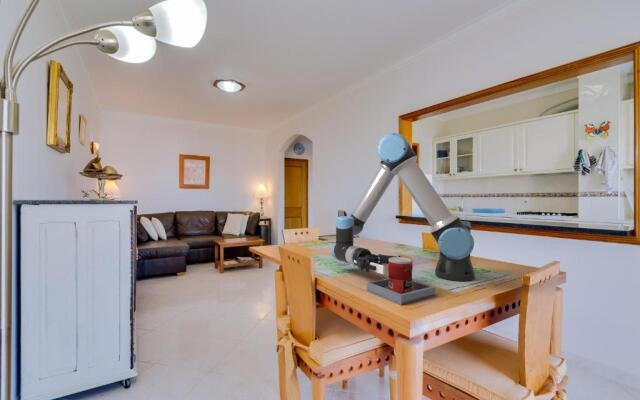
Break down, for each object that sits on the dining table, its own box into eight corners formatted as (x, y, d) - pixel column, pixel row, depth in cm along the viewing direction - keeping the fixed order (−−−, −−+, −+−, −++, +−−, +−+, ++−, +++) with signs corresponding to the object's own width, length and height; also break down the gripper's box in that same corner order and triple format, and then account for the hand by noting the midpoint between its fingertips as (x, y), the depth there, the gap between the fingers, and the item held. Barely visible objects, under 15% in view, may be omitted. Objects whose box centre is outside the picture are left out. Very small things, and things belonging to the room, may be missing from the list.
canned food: (408, 296, 100) (408, 262, 99) (385, 292, 104) (385, 260, 104) (414, 290, 106) (415, 258, 106) (392, 286, 110) (392, 256, 110)
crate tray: (399, 284, 116) (399, 276, 116) (435, 296, 102) (435, 287, 102) (367, 291, 107) (367, 282, 107) (401, 305, 94) (401, 295, 94)
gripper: (381, 262, 130) (422, 273, 112) (333, 270, 116) (371, 284, 98) (381, 244, 130) (422, 253, 112) (333, 250, 116) (371, 261, 98)
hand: (398, 267), depth 105 cm, fingers open, 13 cm apart
